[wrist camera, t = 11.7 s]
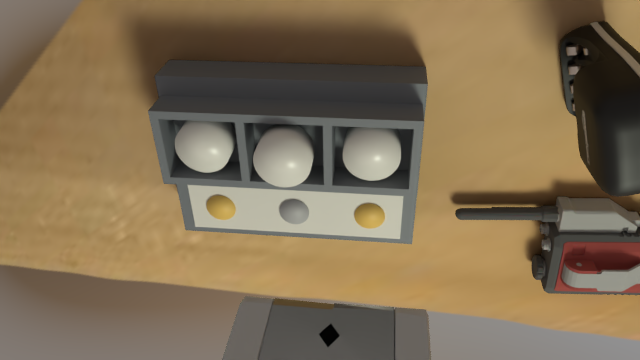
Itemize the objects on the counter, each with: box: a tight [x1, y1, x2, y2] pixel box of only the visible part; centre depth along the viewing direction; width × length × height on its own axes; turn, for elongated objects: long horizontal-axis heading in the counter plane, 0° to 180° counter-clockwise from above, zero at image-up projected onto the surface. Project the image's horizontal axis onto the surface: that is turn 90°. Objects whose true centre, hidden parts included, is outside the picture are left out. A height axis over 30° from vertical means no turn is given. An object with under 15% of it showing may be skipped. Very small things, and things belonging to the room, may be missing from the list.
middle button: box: [253, 124, 315, 187], centre depth 38 cm, size 4×4×2 cm
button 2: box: [343, 127, 401, 181], centre depth 38 cm, size 4×4×2 cm
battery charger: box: [559, 21, 640, 197], centre depth 33 cm, size 7×4×11 cm, turn 19°
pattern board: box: [148, 60, 428, 244], centre depth 41 cm, size 19×14×6 cm
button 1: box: [175, 120, 237, 173], centre depth 39 cm, size 4×4×2 cm
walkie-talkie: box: [455, 197, 640, 295], centre depth 44 cm, size 9×4×20 cm
